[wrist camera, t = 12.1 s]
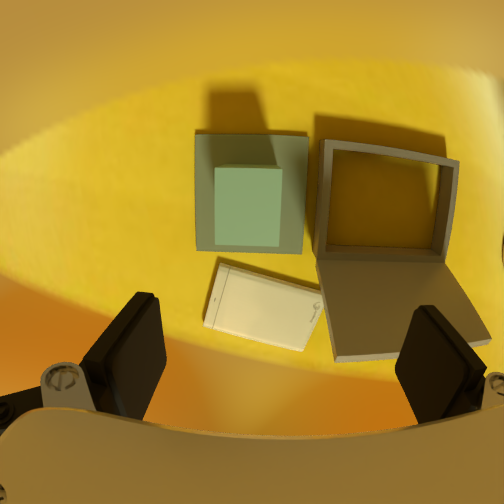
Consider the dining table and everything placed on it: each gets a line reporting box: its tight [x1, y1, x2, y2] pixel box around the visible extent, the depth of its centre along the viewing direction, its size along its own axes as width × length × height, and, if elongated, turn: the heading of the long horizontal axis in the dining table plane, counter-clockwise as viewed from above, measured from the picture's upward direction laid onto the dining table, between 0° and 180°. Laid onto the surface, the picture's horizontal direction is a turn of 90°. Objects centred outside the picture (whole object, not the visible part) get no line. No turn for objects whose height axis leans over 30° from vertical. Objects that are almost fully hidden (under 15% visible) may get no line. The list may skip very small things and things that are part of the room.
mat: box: [195, 134, 309, 254], centre depth 29 cm, size 11×12×1 cm
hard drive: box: [203, 263, 324, 352], centre depth 33 cm, size 2×8×12 cm
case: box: [313, 139, 459, 263], centre depth 28 cm, size 16×12×2 cm
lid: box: [316, 260, 492, 363], centre depth 24 cm, size 16×12×2 cm
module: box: [215, 164, 282, 247], centre depth 26 cm, size 5×6×7 cm
